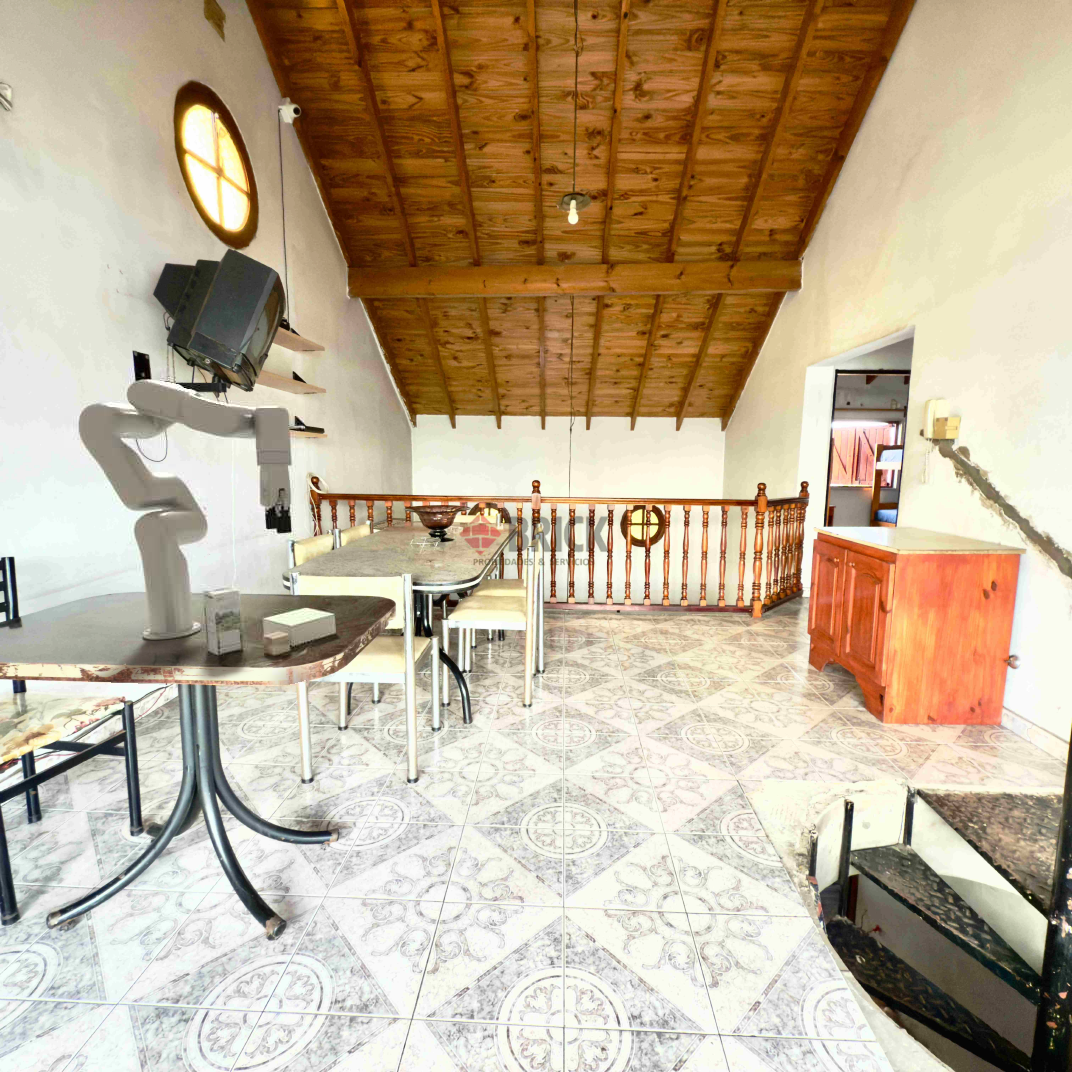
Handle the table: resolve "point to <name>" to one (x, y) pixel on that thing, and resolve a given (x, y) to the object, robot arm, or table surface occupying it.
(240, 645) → the syrup box
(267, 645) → the ash block
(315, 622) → the podium
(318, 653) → the table surface
